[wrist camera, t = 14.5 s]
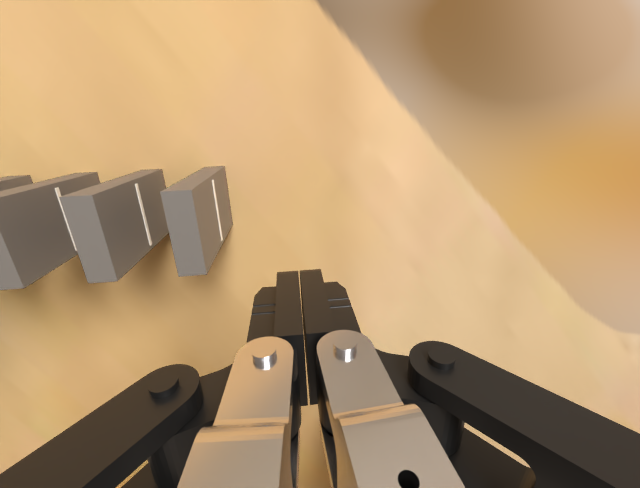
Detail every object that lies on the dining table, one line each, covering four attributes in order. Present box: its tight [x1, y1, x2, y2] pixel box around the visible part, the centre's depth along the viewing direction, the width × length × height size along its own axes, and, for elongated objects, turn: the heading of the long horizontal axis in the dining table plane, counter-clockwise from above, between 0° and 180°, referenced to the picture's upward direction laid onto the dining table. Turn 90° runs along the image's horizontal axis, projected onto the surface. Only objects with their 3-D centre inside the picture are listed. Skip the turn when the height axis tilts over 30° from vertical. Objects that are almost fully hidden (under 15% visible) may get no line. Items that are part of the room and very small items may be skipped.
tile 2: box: [59, 169, 169, 283], centre depth 22 cm, size 5×2×10 cm, turn 2°
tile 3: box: [0, 172, 100, 290], centre depth 21 cm, size 5×2×10 cm, turn 1°
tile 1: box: [160, 166, 233, 277], centre depth 22 cm, size 5×2×10 cm, turn 1°
